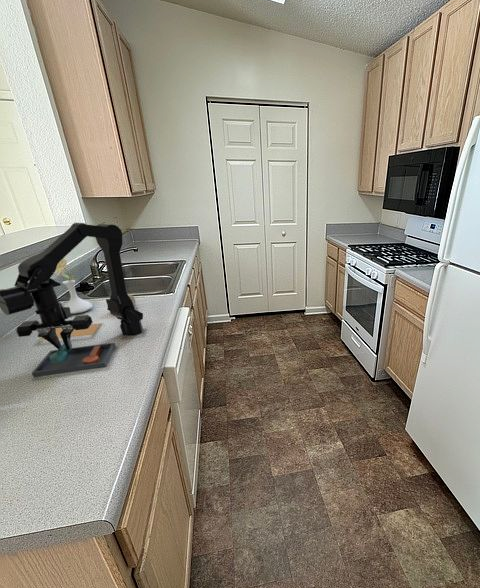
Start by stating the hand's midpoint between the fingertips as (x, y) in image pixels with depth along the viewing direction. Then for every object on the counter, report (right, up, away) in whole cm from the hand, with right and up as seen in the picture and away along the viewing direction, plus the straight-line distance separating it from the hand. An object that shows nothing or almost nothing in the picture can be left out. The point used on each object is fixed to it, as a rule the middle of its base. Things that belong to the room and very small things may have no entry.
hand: (65, 349), depth 106 cm
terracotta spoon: (+8, -3, +2) cm, 9 cm away
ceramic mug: (-4, +17, +44) cm, 48 cm away
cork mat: (-13, +6, +21) cm, 26 cm away
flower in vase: (-24, +16, +43) cm, 52 cm away
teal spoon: (0, -1, -1) cm, 2 cm away
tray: (+3, -4, +1) cm, 6 cm away
